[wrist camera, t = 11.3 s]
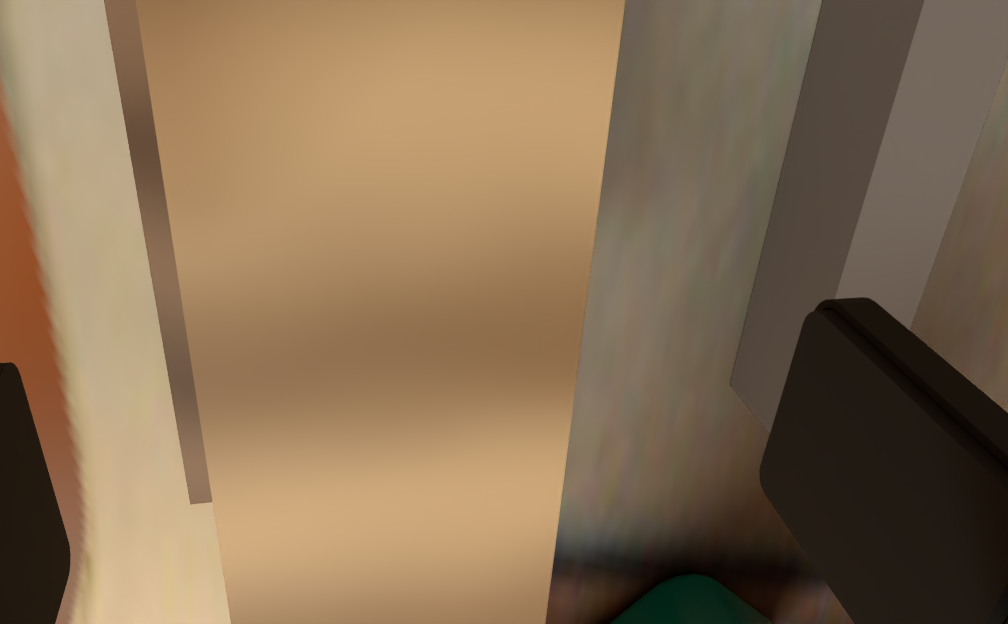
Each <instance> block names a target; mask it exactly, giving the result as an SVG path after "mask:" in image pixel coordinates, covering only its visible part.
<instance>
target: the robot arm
mask: <svg viewBox="0 0 1008 624" xmlns="http://www.w3.org/2000/svg"><path fill="white" fill-rule="evenodd" d="M760 482H761V486H762V489H763V491H764V493H765V495H766V497H767V498H768V499H769V501H770V502H771V504H772V505H773V507H774V508H775V510H776V511H777V512H778V514H779V515H780V517H781V518H782V520H783V521H784V522H785V524H786V525H787V527H788V528H789V530H790V531H791V533H792V534H793V535H794V537H795V538H796V540H797V541H798V543H799V544H800V546H801V547H802V548H803V550H804V551H805V553H806V554H807V556H808V557H809V559H810V560H811V561H812V563H813V564H814V566H815V567H816V569H817V570H818V571H819V573H820V574H821V576H822V577H823V579H824V580H825V582H826V583H827V584H828V586H829V587H830V589H831V590H832V592H833V593H834V595H835V596H836V597H837V599H838V600H839V602H840V603H841V605H842V606H843V608H844V609H845V610H846V612H847V613H848V615H849V616H850V618H851V619H852V620H853V622H854V623H855V624H1008V413H1007V412H1006V411H1005V410H1003V409H1002V408H1001V407H1000V406H999V405H998V404H996V403H995V402H994V401H993V400H992V399H990V398H989V397H988V396H987V395H986V394H984V393H983V392H982V391H981V390H980V389H978V388H977V387H976V386H975V385H974V384H973V383H971V382H970V381H969V380H968V379H967V378H965V377H964V376H963V375H962V374H961V373H959V372H958V371H957V370H956V369H955V368H954V367H952V366H951V365H950V364H949V363H948V362H946V361H945V360H944V359H943V358H942V357H940V356H939V355H938V354H937V353H936V352H935V351H933V350H932V349H931V348H930V347H929V346H927V345H926V344H925V343H924V342H923V341H921V340H920V339H919V338H918V337H917V336H916V335H914V334H913V333H912V332H911V331H910V330H908V329H907V328H906V327H905V326H904V325H902V324H901V323H900V322H899V321H898V320H896V319H895V318H894V317H893V316H892V315H891V314H889V313H888V312H887V311H886V310H885V309H883V308H882V307H881V306H880V305H879V304H877V303H876V302H875V301H873V300H872V299H870V298H865V297H858V298H842V299H826V300H824V301H822V302H820V303H819V304H818V306H817V307H816V308H815V311H813V312H810V313H809V314H808V315H807V316H806V317H805V320H804V322H803V325H802V328H801V332H800V335H799V338H798V342H797V345H796V348H795V352H794V355H793V358H792V362H791V365H790V368H789V372H788V375H787V378H786V382H785V385H784V389H783V392H782V395H781V399H780V402H779V405H778V409H777V412H776V415H775V419H774V422H773V425H772V429H771V432H770V435H769V439H768V442H767V445H766V449H765V452H764V455H763V459H762V462H761V466H760ZM69 570H70V546H69V542H68V538H67V534H66V531H65V528H64V524H63V521H62V517H61V514H60V511H59V507H58V503H57V500H56V496H55V493H54V490H53V486H52V483H51V479H50V476H49V472H48V469H47V466H46V462H45V459H44V455H43V452H42V449H41V445H40V441H39V438H38V435H37V431H36V428H35V424H34V421H33V417H32V414H31V410H30V407H29V403H28V400H27V397H26V393H25V390H24V386H23V383H22V380H21V376H20V373H19V371H18V368H17V367H16V366H15V364H13V363H11V362H10V363H0V624H55V622H56V619H57V615H58V611H59V608H60V604H61V601H62V597H63V594H64V590H65V587H66V584H67V580H68V576H69Z"/></svg>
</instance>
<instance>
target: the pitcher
mask: <svg viewBox="0 0 1008 624" xmlns="http://www.w3.org/2000/svg"><path fill="white" fill-rule="evenodd" d="M608 624H773V623H772V621H770V620H769V619H768V618H766V617H765V616H763V615H762V614H761V613H759V612H758V611H757V610H755V609H754V608H753V607H751V606H750V605H749V604H747V603H746V602H744V601H743V600H742V599H740V598H739V597H738V596H736V595H735V594H734V593H732V592H731V591H730V590H728V589H727V588H725V587H724V586H723V585H721V584H720V583H719V582H717V581H716V580H715V579H713V578H712V577H710V576H707V575H700V574H693V573H691V574H685V575H679V576H673V577H671V578H669V579H667V580H665V581H662V582H660V583H658V584H657V585H656V586H655V587H653V588H652V589H651V590H650V591H648V592H647V593H646V594H645V595H643V596H642V597H641V598H640V599H638V600H637V601H636V602H635V603H633V604H632V605H631V606H630V607H628V608H627V609H626V610H625V611H623V612H622V613H621V614H620V615H618V616H617V617H616V618H615V619H613V620H612V621H611V622H610V623H608Z"/></svg>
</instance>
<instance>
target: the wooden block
mask: <svg viewBox="0 0 1008 624" xmlns="http://www.w3.org/2000/svg"><path fill="white" fill-rule="evenodd" d="M136 7H137V13H138V20H139V26H140V33H141V39H142V46H143V52H144V59H145V65H146V72H147V78H148V85H149V91H150V98H151V104H152V111H153V118H154V124H155V131H156V137H157V144H158V150H159V157H160V163H161V170H162V176H163V183H164V189H165V196H166V202H167V209H168V215H169V222H170V228H171V235H172V241H173V248H174V254H175V261H176V267H177V274H178V280H179V287H180V293H181V300H182V306H183V313H184V319H185V326H186V333H187V339H188V346H189V352H190V359H191V365H192V372H193V378H194V385H195V391H196V398H197V404H198V411H199V417H200V424H201V430H202V437H203V443H204V450H205V456H206V463H207V469H208V476H209V482H210V489H211V495H212V502H213V508H214V515H215V521H216V528H217V535H218V541H219V548H220V554H221V561H222V567H223V574H224V580H225V587H226V593H227V600H228V606H229V613H230V619H231V624H545V621H546V613H547V605H548V598H549V590H550V582H551V574H552V566H553V559H554V551H555V543H556V535H557V528H558V520H559V512H560V504H561V497H562V489H563V481H564V473H565V465H566V458H567V450H568V442H569V434H570V427H571V419H572V411H573V403H574V395H575V388H576V380H577V372H578V364H579V357H580V349H581V341H582V333H583V325H584V318H585V310H586V302H587V294H588V287H589V279H590V271H591V263H592V256H593V248H594V240H595V232H596V224H597V217H598V209H599V201H600V193H601V186H602V178H603V170H604V162H605V154H606V147H607V139H608V131H609V123H610V116H611V108H612V100H613V92H614V84H615V77H616V69H617V61H618V53H619V46H620V38H621V30H622V22H623V15H624V7H625V0H136Z"/></svg>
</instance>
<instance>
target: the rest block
mask: <svg viewBox="0 0 1008 624" xmlns="http://www.w3.org/2000/svg"><path fill="white" fill-rule="evenodd" d="M1007 59H1008V0H823V3H822V7H821V11H820V15H819V20H818V24H817V28H816V32H815V36H814V40H813V44H812V48H811V53H810V57H809V61H808V65H807V69H806V73H805V77H804V81H803V86H802V90H801V94H800V98H799V102H798V106H797V110H796V114H795V119H794V123H793V127H792V131H791V135H790V139H789V143H788V147H787V152H786V156H785V160H784V164H783V168H782V172H781V176H780V180H779V185H778V189H777V193H776V197H775V201H774V205H773V209H772V213H771V218H770V222H769V226H768V230H767V234H766V238H765V242H764V246H763V250H762V255H761V259H760V263H759V267H758V271H757V275H756V279H755V283H754V288H753V292H752V296H751V300H750V304H749V308H748V312H747V316H746V321H745V325H744V329H743V333H742V337H741V341H740V345H739V349H738V354H737V358H736V362H735V366H734V370H733V374H732V378H731V382H730V386H731V387H732V388H733V390H734V391H735V392H736V393H737V394H738V396H739V397H740V398H741V399H742V401H743V402H744V403H745V404H746V405H747V407H748V408H749V409H750V410H751V412H752V413H753V414H754V415H755V416H756V418H757V419H758V420H759V421H760V423H761V424H762V425H763V426H764V428H765V429H766V430H767V431H768V432H769V434H770V432H771V429H772V425H773V422H774V419H775V415H776V412H777V409H778V405H779V402H780V399H781V395H782V392H783V389H784V385H785V382H786V378H787V375H788V372H789V368H790V365H791V362H792V358H793V355H794V352H795V348H796V345H797V342H798V338H799V335H800V332H801V328H802V325H803V322H804V320H805V317H806V316H807V315H808V314H809V313H810V312H813V311H815V308H816V307H817V306H818V304H819V303H820V302H822V301H824V300H826V299H842V298H858V297H865V298H870V299H872V300H873V301H875V302H876V303H877V304H879V305H880V306H881V307H882V308H883V309H885V310H886V311H887V312H888V313H889V314H891V315H892V316H893V317H894V318H895V319H896V320H898V321H899V322H900V323H901V324H902V325H904V326H905V327H906V328H907V329H908V330H910V328H911V325H912V322H913V319H914V317H915V314H916V311H917V308H918V306H919V303H920V300H921V297H922V295H923V292H924V289H925V286H926V283H927V281H928V278H929V275H930V272H931V270H932V267H933V264H934V261H935V259H936V256H937V253H938V250H939V247H940V245H941V242H942V239H943V236H944V234H945V231H946V228H947V225H948V223H949V220H950V217H951V214H952V211H953V209H954V206H955V203H956V200H957V198H958V195H959V192H960V189H961V187H962V184H963V181H964V178H965V175H966V173H967V170H968V167H969V164H970V162H971V159H972V156H973V153H974V150H975V148H976V145H977V142H978V139H979V137H980V134H981V131H982V128H983V126H984V123H985V120H986V117H987V114H988V112H989V109H990V106H991V103H992V101H993V98H994V95H995V92H996V90H997V87H998V84H999V81H1000V78H1001V76H1002V73H1003V70H1004V67H1005V65H1006V62H1007Z"/></svg>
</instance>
